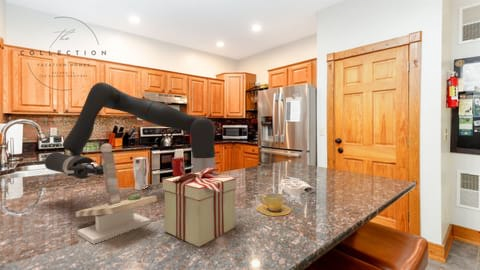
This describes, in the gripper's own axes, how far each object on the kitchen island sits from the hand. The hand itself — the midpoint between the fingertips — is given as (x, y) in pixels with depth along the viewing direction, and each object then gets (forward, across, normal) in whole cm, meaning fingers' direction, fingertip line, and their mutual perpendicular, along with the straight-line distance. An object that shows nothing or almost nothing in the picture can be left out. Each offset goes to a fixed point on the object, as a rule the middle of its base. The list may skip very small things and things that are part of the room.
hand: (101, 171), depth 72 cm
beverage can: (-13, +41, +16) cm, 46 cm away
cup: (+39, +40, +17) cm, 58 cm away
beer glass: (-28, +30, +16) cm, 43 cm away
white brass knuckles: (+34, +69, +17) cm, 79 cm away
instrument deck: (+8, 0, +10) cm, 13 cm away
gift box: (+30, +14, +16) cm, 37 cm away
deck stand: (+8, 0, +16) cm, 18 cm away
